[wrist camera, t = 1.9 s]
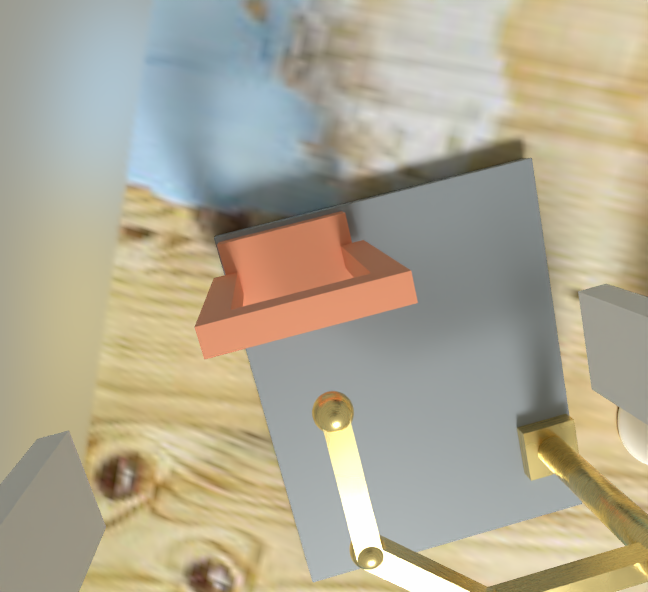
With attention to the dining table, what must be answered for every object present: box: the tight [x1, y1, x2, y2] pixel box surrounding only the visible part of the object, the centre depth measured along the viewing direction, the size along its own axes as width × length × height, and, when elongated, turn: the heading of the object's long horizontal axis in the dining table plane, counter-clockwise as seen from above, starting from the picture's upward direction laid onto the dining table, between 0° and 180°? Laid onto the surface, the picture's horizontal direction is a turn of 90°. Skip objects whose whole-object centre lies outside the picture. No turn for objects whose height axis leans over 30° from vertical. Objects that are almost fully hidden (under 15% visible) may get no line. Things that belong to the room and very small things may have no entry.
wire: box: [312, 391, 648, 592], centre depth 31 cm, size 15×17×14 cm
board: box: [214, 158, 582, 582], centre depth 38 cm, size 25×20×1 cm
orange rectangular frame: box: [195, 211, 418, 359], centre depth 29 cm, size 5×9×12 cm, turn 104°
